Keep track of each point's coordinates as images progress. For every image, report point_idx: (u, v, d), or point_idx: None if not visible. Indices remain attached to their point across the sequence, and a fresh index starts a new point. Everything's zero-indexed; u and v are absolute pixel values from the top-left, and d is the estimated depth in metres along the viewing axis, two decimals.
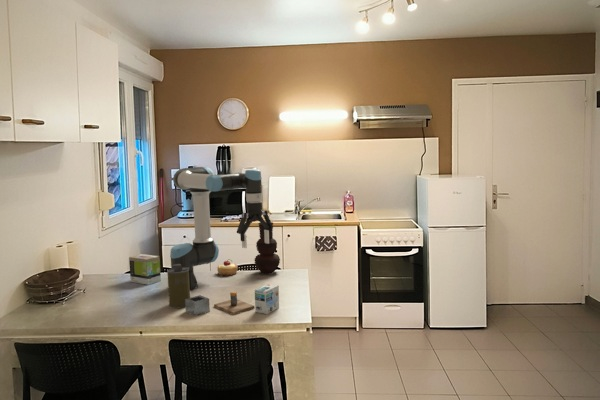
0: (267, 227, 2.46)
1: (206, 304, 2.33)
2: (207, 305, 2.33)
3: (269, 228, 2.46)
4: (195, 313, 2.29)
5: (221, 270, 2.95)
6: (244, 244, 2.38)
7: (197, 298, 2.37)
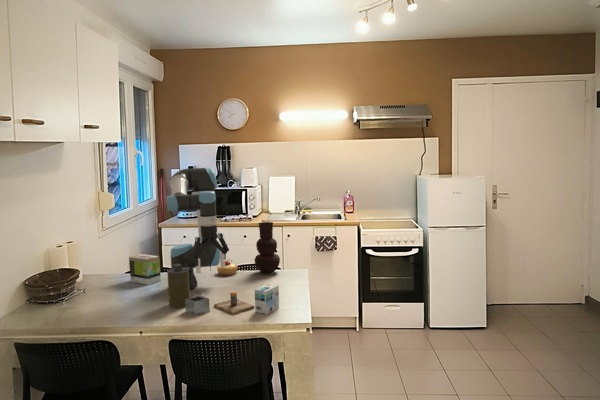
0: (223, 250, 2.38)
1: (206, 304, 2.33)
2: (207, 305, 2.33)
3: (225, 251, 2.39)
4: (195, 313, 2.29)
5: (221, 270, 2.95)
6: (198, 269, 2.29)
7: (197, 298, 2.37)
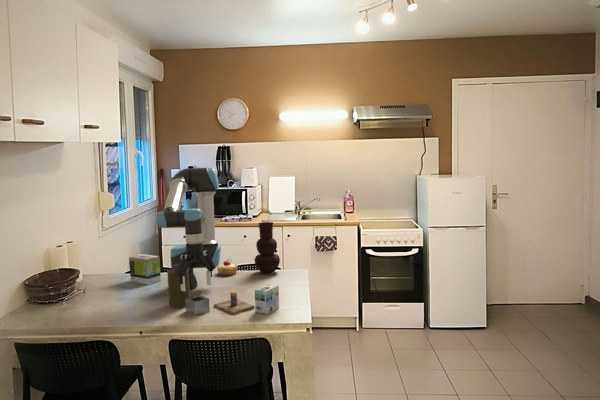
0: (209, 268, 2.35)
1: (206, 304, 2.33)
2: (207, 305, 2.33)
3: (211, 269, 2.36)
4: (195, 313, 2.29)
5: (221, 270, 2.95)
6: (183, 287, 2.27)
7: (197, 298, 2.37)
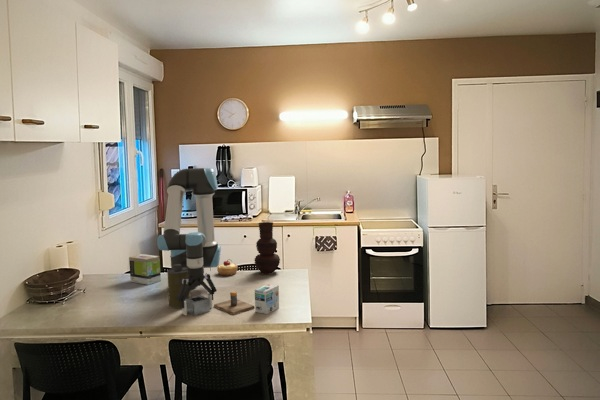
0: (210, 291, 2.37)
1: (206, 304, 2.33)
2: (207, 305, 2.33)
3: (212, 292, 2.38)
4: (195, 313, 2.29)
5: (221, 270, 2.95)
6: (184, 311, 2.29)
7: (197, 298, 2.37)
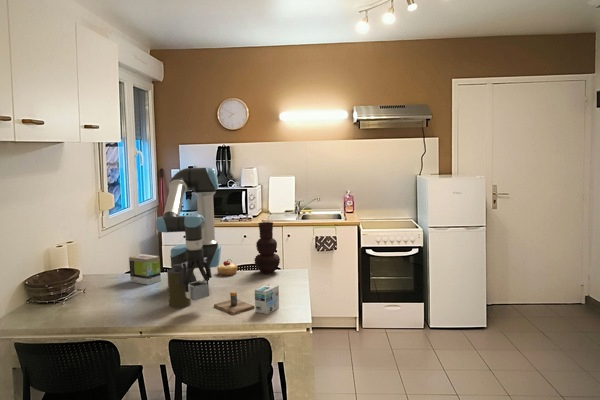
0: (205, 277, 2.35)
1: (205, 289, 2.33)
2: (206, 290, 2.33)
3: (207, 278, 2.36)
4: (194, 298, 2.29)
5: (221, 270, 2.95)
6: (188, 295, 2.31)
7: (197, 283, 2.37)
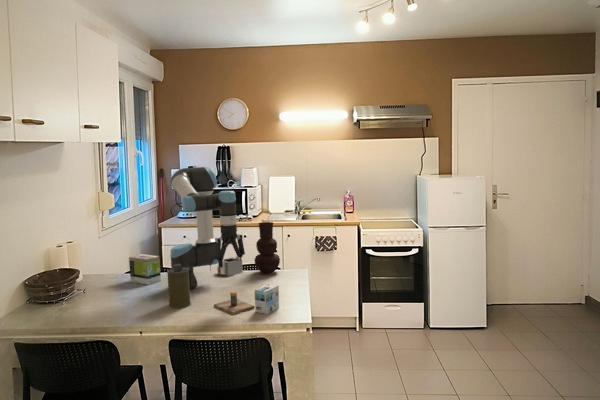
0: (239, 253, 2.37)
1: (239, 265, 2.34)
2: (240, 266, 2.35)
3: (240, 255, 2.38)
4: (229, 273, 2.31)
5: None
6: (222, 270, 2.32)
7: (230, 260, 2.39)
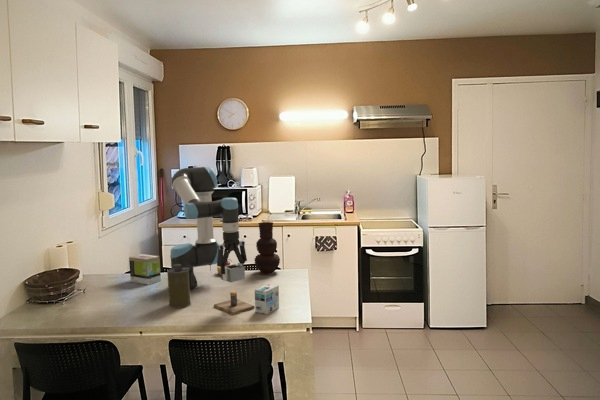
0: (241, 260, 2.38)
1: (242, 271, 2.35)
2: (242, 273, 2.36)
3: (243, 261, 2.39)
4: (231, 280, 2.31)
5: None
6: (225, 277, 2.33)
7: (232, 266, 2.39)
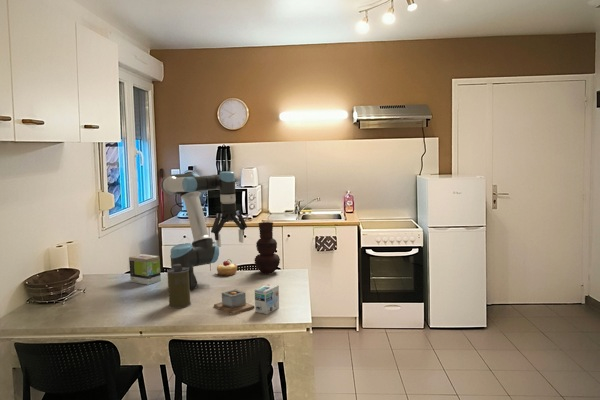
0: (241, 227, 2.56)
1: (243, 298, 2.37)
2: (243, 299, 2.37)
3: (243, 228, 2.57)
4: (232, 307, 2.33)
5: (221, 270, 2.95)
6: (218, 243, 2.48)
7: None
